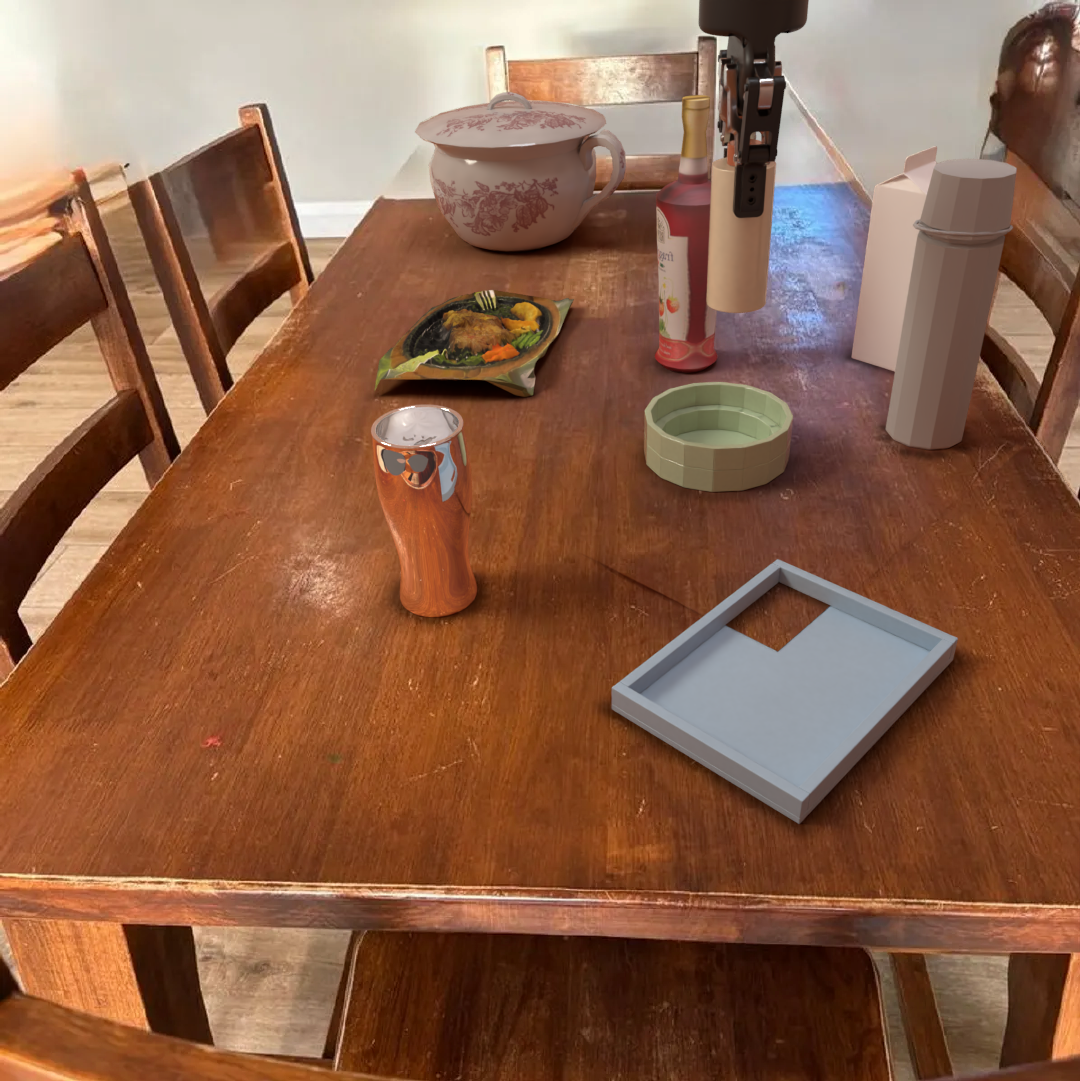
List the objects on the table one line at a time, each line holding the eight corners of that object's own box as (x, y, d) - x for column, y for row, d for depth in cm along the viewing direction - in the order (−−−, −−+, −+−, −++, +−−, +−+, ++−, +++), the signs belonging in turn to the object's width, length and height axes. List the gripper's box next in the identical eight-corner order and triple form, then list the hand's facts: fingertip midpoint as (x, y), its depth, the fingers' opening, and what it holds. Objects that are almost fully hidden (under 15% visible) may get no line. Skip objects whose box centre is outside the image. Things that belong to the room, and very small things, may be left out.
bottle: (729, 287, 86) (737, 132, 79) (777, 300, 83) (790, 140, 76) (694, 304, 83) (699, 145, 76) (742, 318, 80) (753, 153, 73)
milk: (927, 356, 112) (967, 149, 100) (898, 374, 109) (935, 162, 96) (878, 342, 116) (911, 140, 104) (849, 358, 113) (878, 152, 100)
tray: (775, 579, 79) (777, 558, 78) (953, 660, 71) (958, 637, 70) (611, 709, 68) (611, 687, 67) (799, 824, 59) (802, 801, 58)
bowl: (700, 415, 103) (703, 370, 100) (814, 456, 95) (820, 408, 92) (616, 465, 95) (616, 417, 92) (731, 513, 87) (735, 463, 85)
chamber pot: (405, 228, 160) (388, 88, 149) (563, 202, 168) (559, 67, 157) (462, 282, 139) (448, 122, 127) (641, 249, 147) (642, 96, 135)
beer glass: (382, 584, 81) (354, 417, 73) (461, 559, 84) (443, 394, 75) (413, 632, 76) (387, 458, 67) (497, 603, 78) (482, 432, 70)
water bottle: (973, 457, 93) (1035, 180, 79) (885, 454, 95) (930, 180, 81) (955, 412, 101) (1009, 151, 87) (874, 410, 102) (914, 152, 88)
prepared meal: (437, 275, 130) (574, 276, 127) (440, 301, 132) (575, 303, 129) (363, 374, 108) (526, 379, 105) (369, 403, 111) (529, 409, 107)
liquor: (728, 375, 110) (746, 101, 95) (664, 384, 109) (671, 108, 93) (705, 349, 116) (718, 87, 101) (644, 358, 115) (648, 94, 99)
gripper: (837, -42, 63) (810, 231, 72) (789, -58, 75) (772, 179, 84) (716, -35, 63) (705, 237, 73) (688, -51, 75) (682, 184, 84)
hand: (741, 204), depth 78 cm, fingers closed on bottle, 4 cm apart
